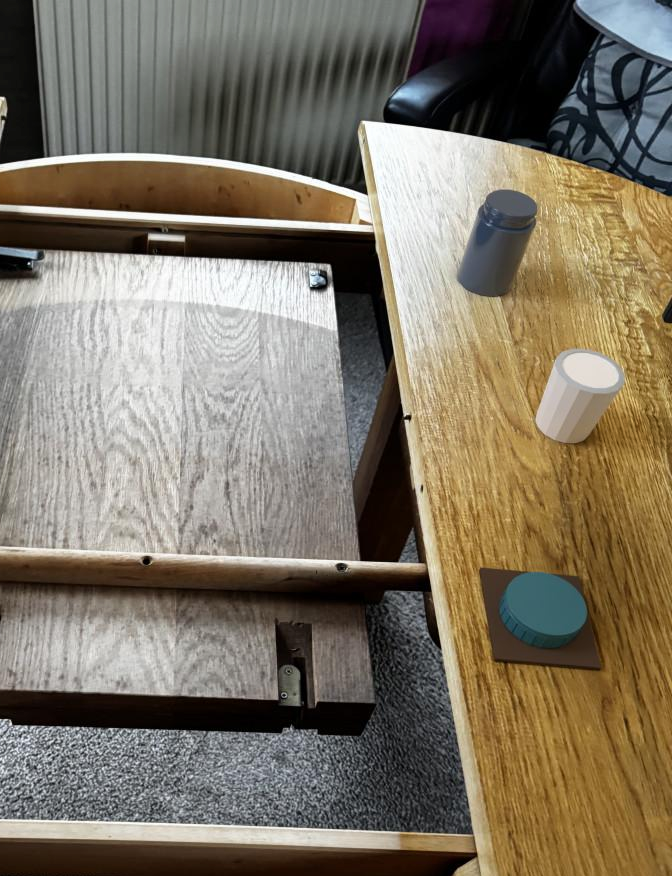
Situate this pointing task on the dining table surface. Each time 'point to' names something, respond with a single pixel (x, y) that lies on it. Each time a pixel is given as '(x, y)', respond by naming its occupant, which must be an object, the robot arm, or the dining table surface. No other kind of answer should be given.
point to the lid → (542, 609)
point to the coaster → (517, 651)
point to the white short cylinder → (578, 394)
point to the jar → (497, 242)
